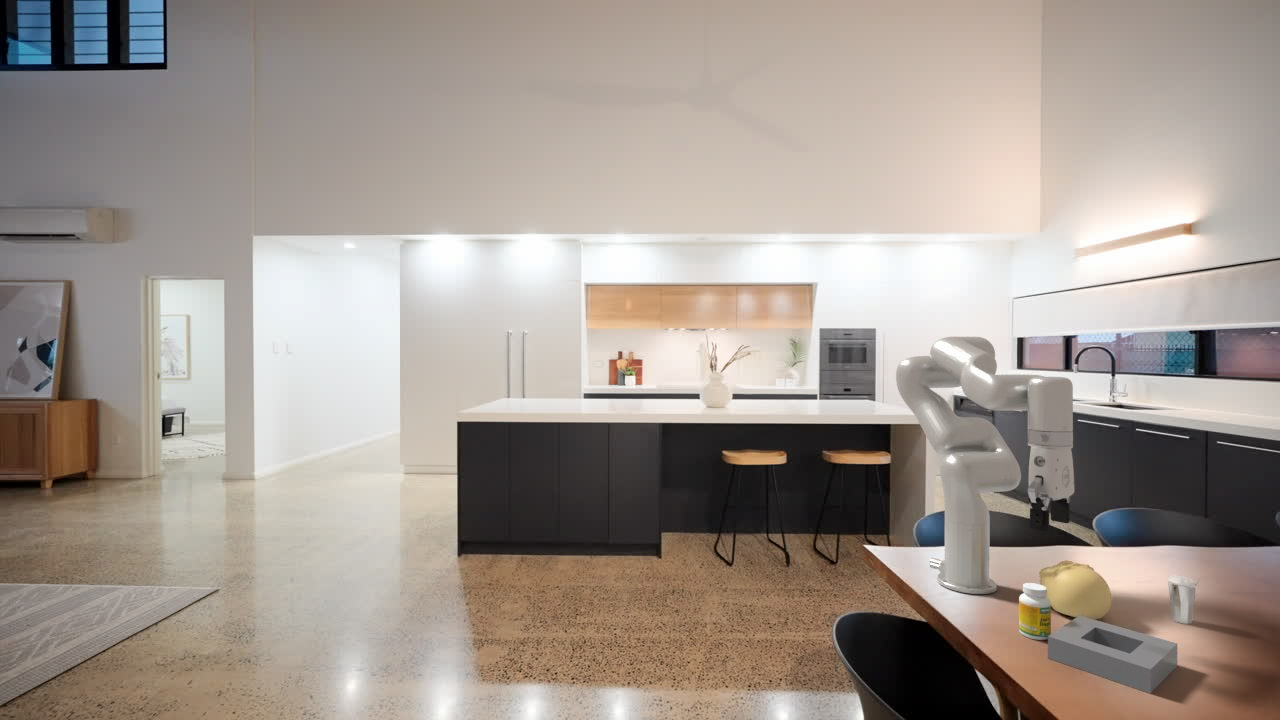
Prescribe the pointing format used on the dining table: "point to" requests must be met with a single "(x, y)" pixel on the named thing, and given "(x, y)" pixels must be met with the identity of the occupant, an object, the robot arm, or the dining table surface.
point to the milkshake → (1182, 598)
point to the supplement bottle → (1034, 612)
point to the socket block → (1113, 653)
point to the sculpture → (1076, 590)
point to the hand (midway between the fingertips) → (1049, 525)
